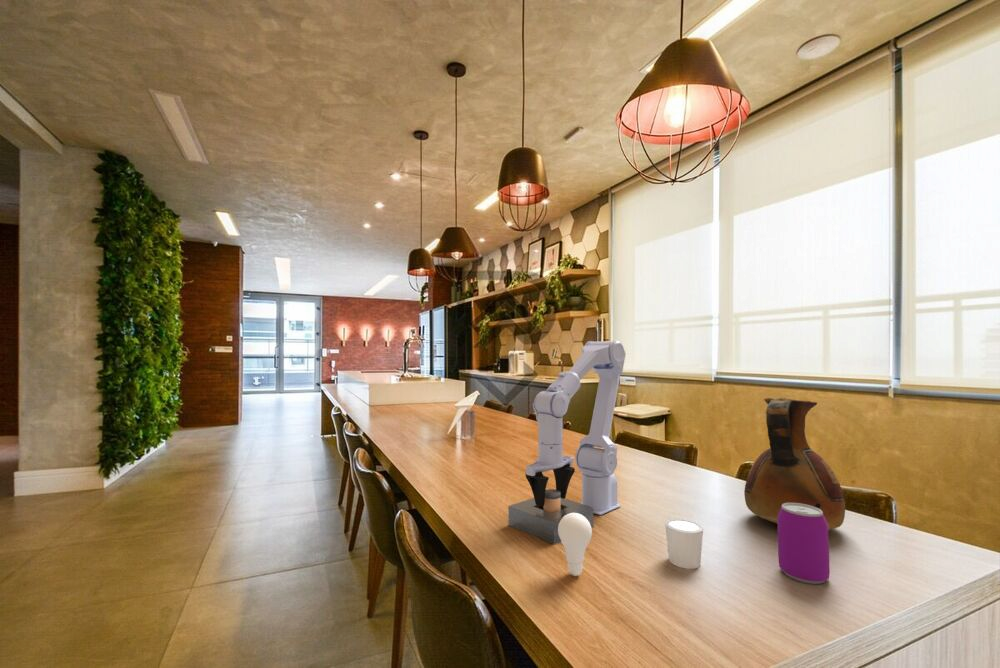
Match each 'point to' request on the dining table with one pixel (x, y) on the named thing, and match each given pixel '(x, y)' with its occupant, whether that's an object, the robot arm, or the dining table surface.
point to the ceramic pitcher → (792, 468)
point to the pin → (552, 501)
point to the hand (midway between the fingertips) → (550, 501)
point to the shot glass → (684, 543)
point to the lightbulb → (575, 540)
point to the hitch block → (544, 518)
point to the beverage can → (803, 543)
